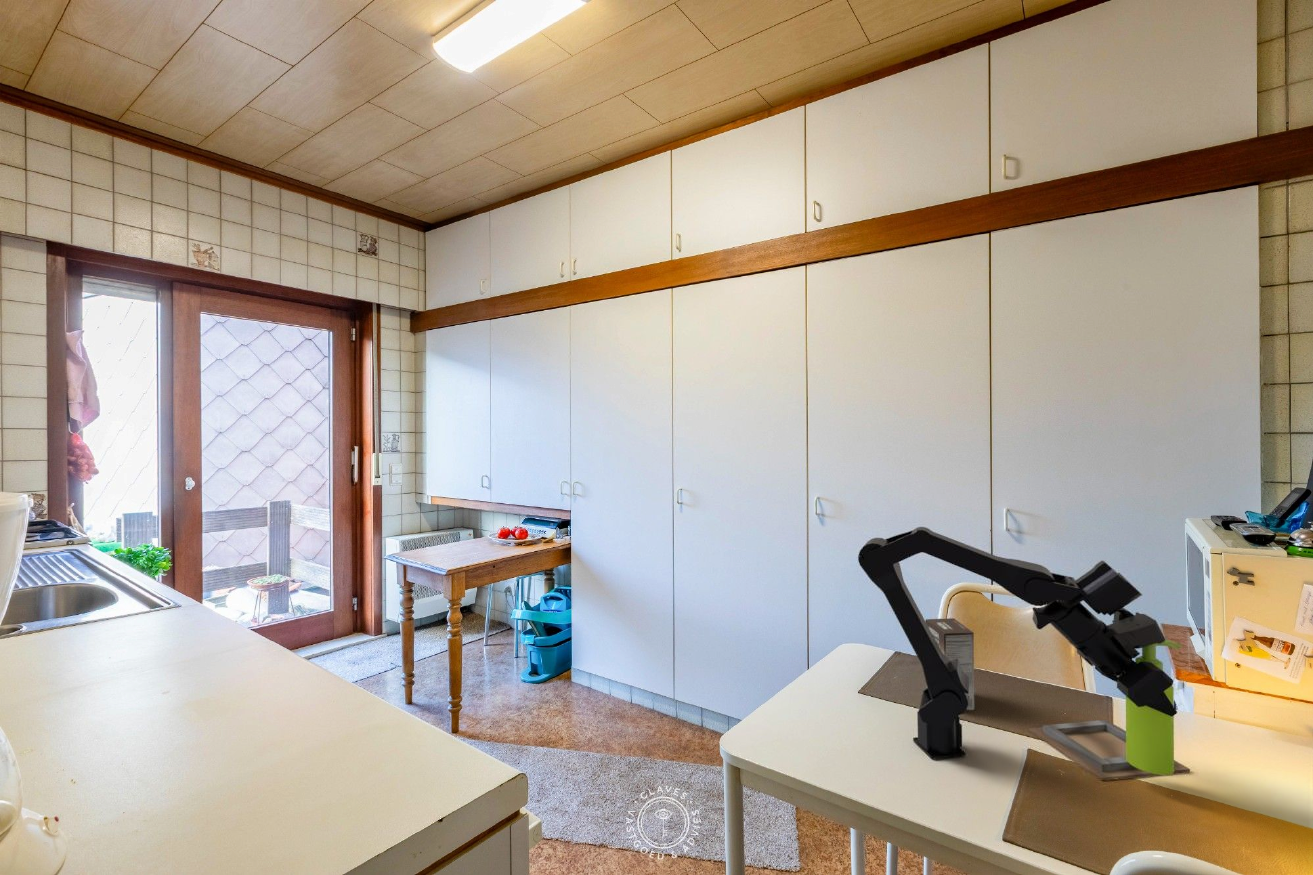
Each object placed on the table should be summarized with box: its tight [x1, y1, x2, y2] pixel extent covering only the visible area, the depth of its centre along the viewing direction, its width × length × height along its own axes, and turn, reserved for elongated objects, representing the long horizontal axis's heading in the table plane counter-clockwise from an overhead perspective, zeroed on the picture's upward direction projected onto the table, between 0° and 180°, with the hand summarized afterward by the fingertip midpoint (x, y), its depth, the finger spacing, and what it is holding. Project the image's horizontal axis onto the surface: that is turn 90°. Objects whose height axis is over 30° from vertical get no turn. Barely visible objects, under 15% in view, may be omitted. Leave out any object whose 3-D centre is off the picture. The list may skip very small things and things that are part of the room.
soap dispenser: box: [1125, 639, 1182, 776], centre depth 95 cm, size 6×7×20 cm
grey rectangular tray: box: [1028, 719, 1191, 781], centre depth 106 cm, size 16×16×2 cm
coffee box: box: [925, 617, 975, 711], centre depth 126 cm, size 9×6×16 cm
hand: (1163, 705), depth 95 cm, fingers closed on soap dispenser, 6 cm apart
